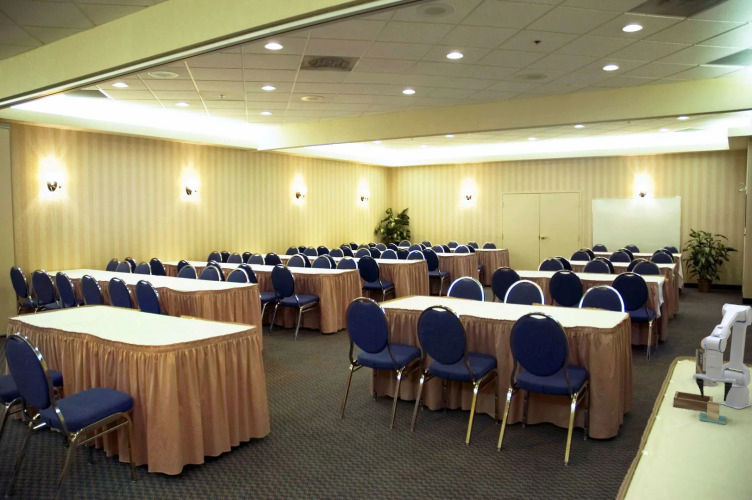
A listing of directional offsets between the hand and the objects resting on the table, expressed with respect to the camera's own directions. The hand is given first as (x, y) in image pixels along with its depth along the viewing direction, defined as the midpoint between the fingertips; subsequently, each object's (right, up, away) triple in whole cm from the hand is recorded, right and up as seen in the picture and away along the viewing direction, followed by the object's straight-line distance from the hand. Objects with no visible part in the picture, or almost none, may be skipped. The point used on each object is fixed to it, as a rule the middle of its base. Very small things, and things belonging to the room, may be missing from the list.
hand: (713, 398), depth 221 cm
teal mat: (0, -8, +1) cm, 9 cm away
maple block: (0, -8, +1) cm, 8 cm away
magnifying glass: (+33, -4, +57) cm, 66 cm away
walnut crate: (0, -7, +15) cm, 17 cm away
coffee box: (+24, -5, +44) cm, 51 cm away
